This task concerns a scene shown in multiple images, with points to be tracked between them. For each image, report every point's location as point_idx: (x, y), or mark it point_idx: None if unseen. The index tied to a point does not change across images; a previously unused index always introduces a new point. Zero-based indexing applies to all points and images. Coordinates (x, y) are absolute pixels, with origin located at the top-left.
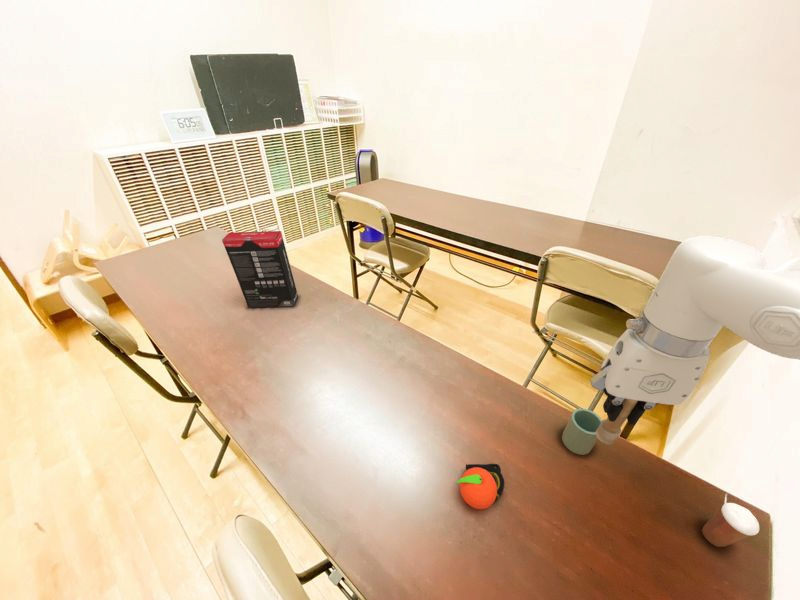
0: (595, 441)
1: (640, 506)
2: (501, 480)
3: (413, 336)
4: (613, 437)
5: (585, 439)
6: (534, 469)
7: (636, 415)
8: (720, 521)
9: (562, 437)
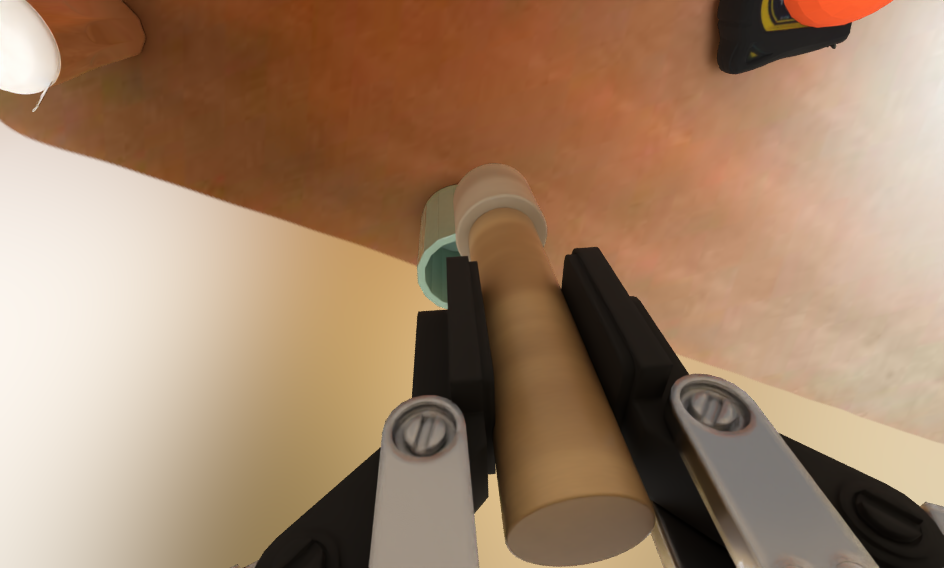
0: (431, 221)
1: (307, 67)
2: (757, 3)
3: (819, 400)
4: (493, 186)
5: None
6: (591, 103)
7: (476, 322)
8: (68, 23)
9: None
